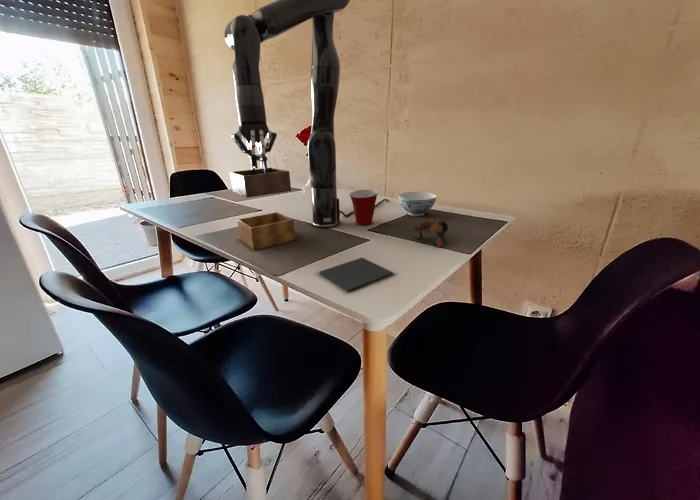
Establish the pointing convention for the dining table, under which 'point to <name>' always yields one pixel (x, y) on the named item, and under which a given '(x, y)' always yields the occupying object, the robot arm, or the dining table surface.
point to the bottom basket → (266, 230)
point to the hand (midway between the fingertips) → (258, 167)
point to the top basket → (260, 180)
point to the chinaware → (417, 202)
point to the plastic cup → (364, 205)
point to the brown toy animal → (435, 226)
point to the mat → (355, 274)
